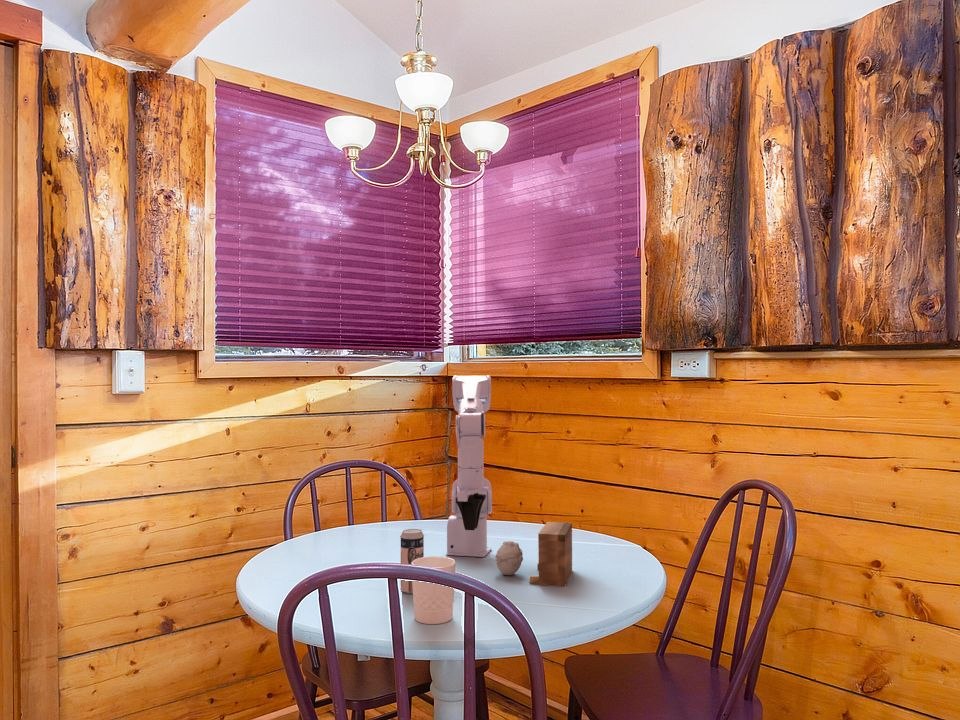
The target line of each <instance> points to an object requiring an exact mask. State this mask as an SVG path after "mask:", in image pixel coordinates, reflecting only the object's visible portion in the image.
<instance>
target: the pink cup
mask: <svg viewBox="0 0 960 720" xmlns="http://www.w3.org/2000/svg"><path fill="white" fill-rule="evenodd" d="M411 565H419V566H426V567H432V568H437V569H442V570H446V571H451V572H455V573H456V560H455V559H454V558H451V557H447V556H437V555H436V556H434V555H433V556H432V555H431V556H424V557H422V558H418V559H415V560H413V561H412V562H411ZM412 588H413V594H412V595H413V596H412V601H413V608H414V609H413V610H414V619H415V620H416V622H418V623H420V624H426V625H440V624H446V623H447V622H449V621H452V619H453V617H454V614H453V613H454V603H455V601H454V600H455V588H454V589H453V588H450V587H446V586H442V585H438V584H433V583H427V582H419V581H412Z"/></svg>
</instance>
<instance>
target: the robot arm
mask: <svg viewBox="0 0 960 720" xmlns="http://www.w3.org/2000/svg"><path fill="white" fill-rule="evenodd" d="M451 381H452V388H451V389H452V390H451V391H452V401H453V403H452V404H453V408H454V411H456V412H457V413H458V415H457V414H456V415H455V436H456V446H457V479H456V480H455V481H453V484H452V488H451V489H452V490H451V513H453V514H452V515H449V517H448V519H447V522H446V523H447V525H446V555H447V556H459V557H462V556H463V557H476V558H477V557H479V558H484V557H486V556H487V555H488V554H489V553H490V551H491V550H492V547H490V546H488V529H487V528H488V523H487V522H488V515H491V514H492V512H493V492H492V491H493V490H492V484H491V481H489V480H488V479H487V478H486V477H484V474H485V473H484V472H485V467H484V462H485V461H484V460H485V459H484V457H485V455H484V451H485V448H484V446H485V445H484V440H485V438H486V415H485V413H486V412H488V411H490V406H491V398H492V377H491V376H490V375H489V374H488V375H455V374H454V375H453V377H452V380H451Z"/></svg>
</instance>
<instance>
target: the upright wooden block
mask: <svg viewBox="0 0 960 720" xmlns="http://www.w3.org/2000/svg"><path fill="white" fill-rule="evenodd" d="M537 549H538V562H537V564H536V565H537V571H538V575H529V584H533V585H534V584H535V585H539V586H551V587H552V586H553V587H566V586H567V584H568V582H569V579H570V577H571V574H572V572H573V523H572V522H563V521H562V522H559V521H546V523H545V524H544V526H542V528H541V529H540V531H539V532H538V548H537Z"/></svg>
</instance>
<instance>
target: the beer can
mask: <svg viewBox="0 0 960 720" xmlns="http://www.w3.org/2000/svg"><path fill="white" fill-rule="evenodd" d="M424 538H425V535H424V533H423V531H422V529H418V528H410V529H409V528H408V529H403V530H402V532H401V534H400V565H401V564H411V562H412V561H413V560H415V559H418V558H422V557H425V556H424V555H425V554H424V551H425V550H424V548H425V547H424V546H425V545H424V544H425V543H424V542H425V541H424V540H425V539H424ZM399 589H400V591H401V592H403V593H405V594H409V595H410V594H411V595H413V588H412V581H405V580H401V579H400V588H399Z"/></svg>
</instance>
